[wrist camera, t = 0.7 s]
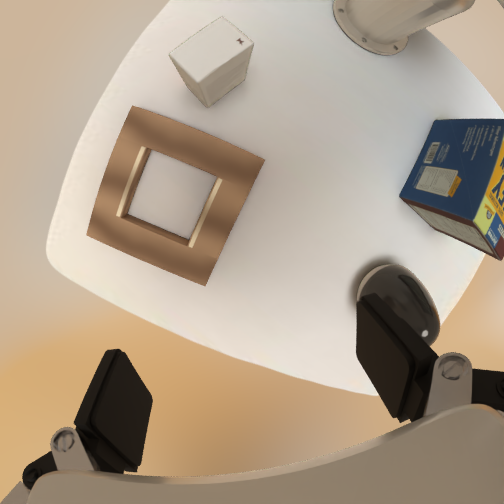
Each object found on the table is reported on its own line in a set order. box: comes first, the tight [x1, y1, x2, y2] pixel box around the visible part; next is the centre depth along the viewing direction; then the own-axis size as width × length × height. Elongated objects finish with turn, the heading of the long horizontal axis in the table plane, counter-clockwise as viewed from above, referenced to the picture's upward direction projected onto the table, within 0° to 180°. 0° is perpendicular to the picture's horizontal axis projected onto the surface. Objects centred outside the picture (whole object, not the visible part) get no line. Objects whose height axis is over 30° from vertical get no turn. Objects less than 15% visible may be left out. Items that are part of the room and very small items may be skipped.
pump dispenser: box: [357, 265, 440, 346], centre depth 33 cm, size 10×10×15 cm
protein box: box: [399, 119, 504, 261], centre depth 28 cm, size 10×15×16 cm
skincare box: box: [169, 16, 254, 108], centre depth 23 cm, size 6×4×12 cm
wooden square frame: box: [87, 106, 265, 286], centre depth 31 cm, size 17×17×3 cm
